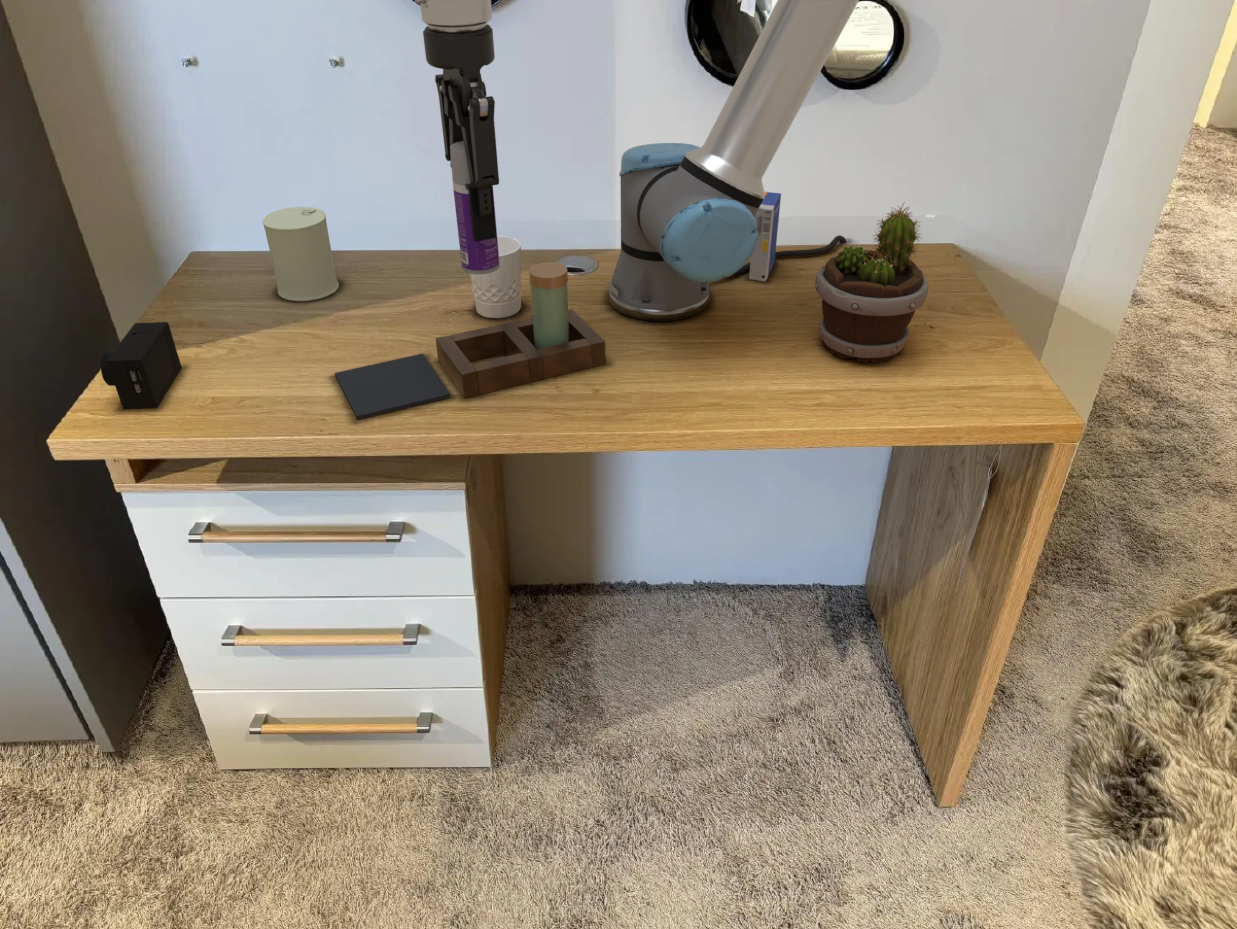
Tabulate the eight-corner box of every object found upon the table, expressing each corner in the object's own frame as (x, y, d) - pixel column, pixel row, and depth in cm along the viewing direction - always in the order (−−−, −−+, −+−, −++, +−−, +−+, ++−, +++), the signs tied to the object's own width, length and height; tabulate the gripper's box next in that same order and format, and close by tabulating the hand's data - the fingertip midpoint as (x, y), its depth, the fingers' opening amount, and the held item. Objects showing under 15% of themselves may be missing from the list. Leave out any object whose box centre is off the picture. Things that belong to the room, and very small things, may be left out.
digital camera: (140, 369, 129) (125, 322, 125) (182, 367, 129) (167, 320, 125) (113, 409, 120) (95, 360, 116) (157, 408, 120) (141, 359, 116)
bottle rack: (572, 330, 137) (571, 308, 135) (605, 364, 129) (605, 341, 127) (438, 361, 130) (435, 338, 128) (464, 398, 122) (461, 374, 120)
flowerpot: (852, 383, 125) (875, 236, 113) (786, 334, 136) (802, 196, 125) (939, 360, 130) (970, 217, 119) (869, 314, 141) (891, 180, 130)
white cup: (534, 303, 145) (530, 240, 139) (507, 324, 139) (502, 259, 133) (489, 294, 148) (484, 231, 142) (461, 314, 142) (455, 250, 136)
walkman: (757, 260, 158) (764, 189, 151) (774, 262, 157) (781, 191, 150) (748, 279, 152) (754, 205, 145) (765, 281, 151) (772, 207, 144)
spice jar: (561, 344, 134) (558, 259, 127) (576, 359, 130) (573, 273, 123) (528, 351, 132) (523, 266, 125) (542, 367, 129) (537, 280, 121)
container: (493, 275, 117) (482, 153, 109) (456, 273, 118) (442, 150, 110) (504, 260, 121) (494, 140, 112) (469, 258, 122) (456, 138, 113)
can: (351, 284, 150) (338, 210, 144) (306, 306, 144) (291, 230, 137) (310, 272, 155) (295, 199, 148) (265, 292, 148) (247, 217, 141)
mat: (423, 357, 131) (422, 353, 131) (450, 397, 122) (450, 393, 122) (335, 376, 127) (334, 372, 126) (357, 420, 118) (356, 416, 118)
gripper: (400, 14, 109) (426, 212, 122) (449, 43, 96) (472, 262, 109) (463, 8, 111) (481, 203, 125) (519, 36, 98) (533, 250, 112)
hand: (477, 230), depth 117 cm, fingers closed on container, 5 cm apart
